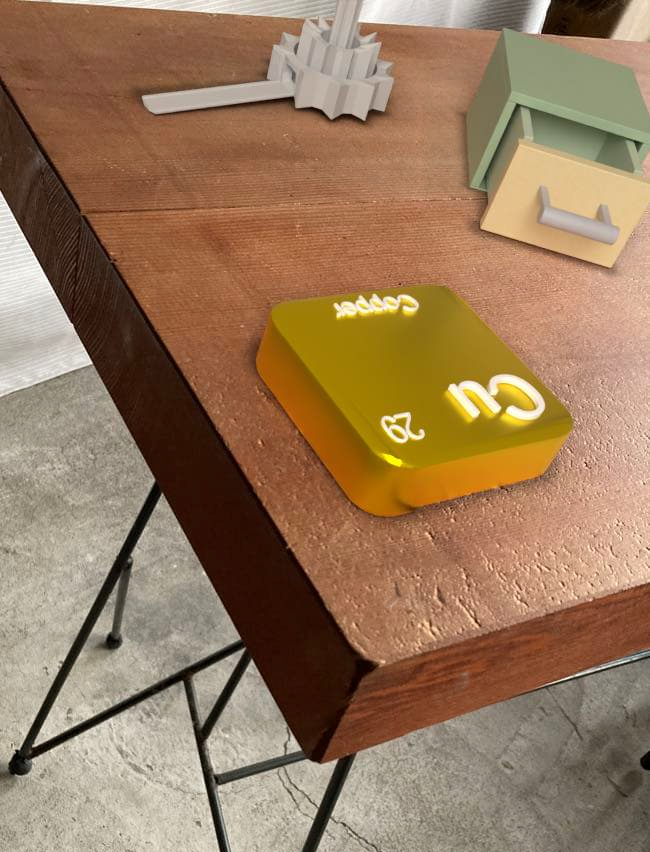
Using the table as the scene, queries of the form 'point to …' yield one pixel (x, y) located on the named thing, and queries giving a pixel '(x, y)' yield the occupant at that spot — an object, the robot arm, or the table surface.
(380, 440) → the element tile
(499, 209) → the drawer
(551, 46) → the cabinet
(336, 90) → the mechanical component
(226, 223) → the table surface
